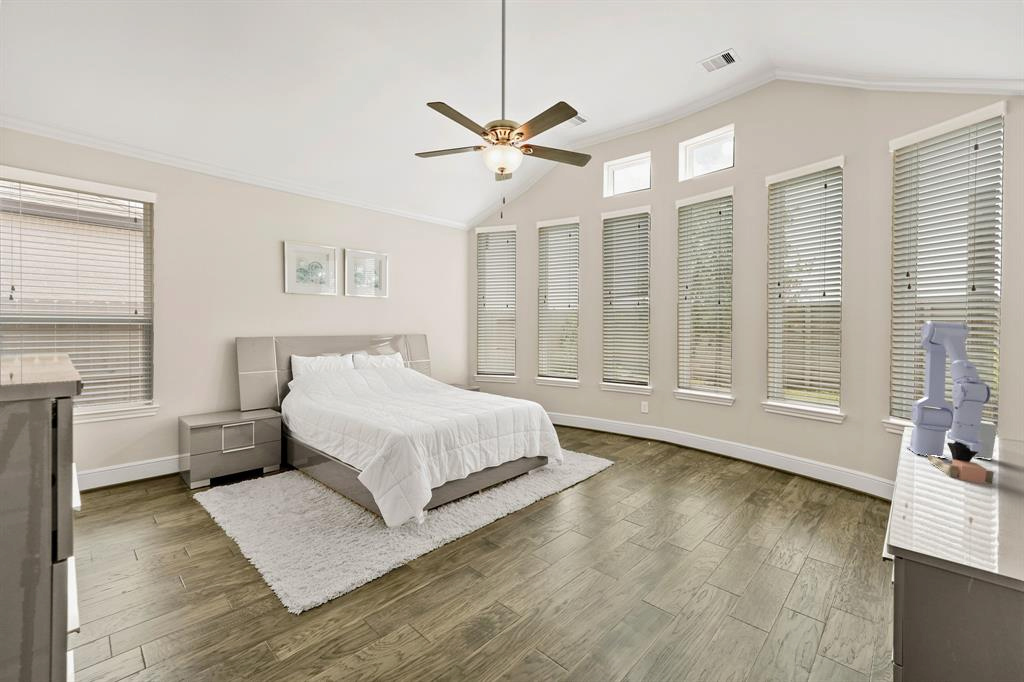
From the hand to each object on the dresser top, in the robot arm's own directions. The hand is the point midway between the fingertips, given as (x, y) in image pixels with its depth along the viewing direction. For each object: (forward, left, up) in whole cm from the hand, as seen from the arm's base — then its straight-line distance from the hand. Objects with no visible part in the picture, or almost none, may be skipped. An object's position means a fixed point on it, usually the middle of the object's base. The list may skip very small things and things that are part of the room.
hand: (959, 469), depth 130 cm
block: (+5, 0, -1) cm, 5 cm away
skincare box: (-25, +15, -1) cm, 30 cm away
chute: (-1, 0, -1) cm, 1 cm away
